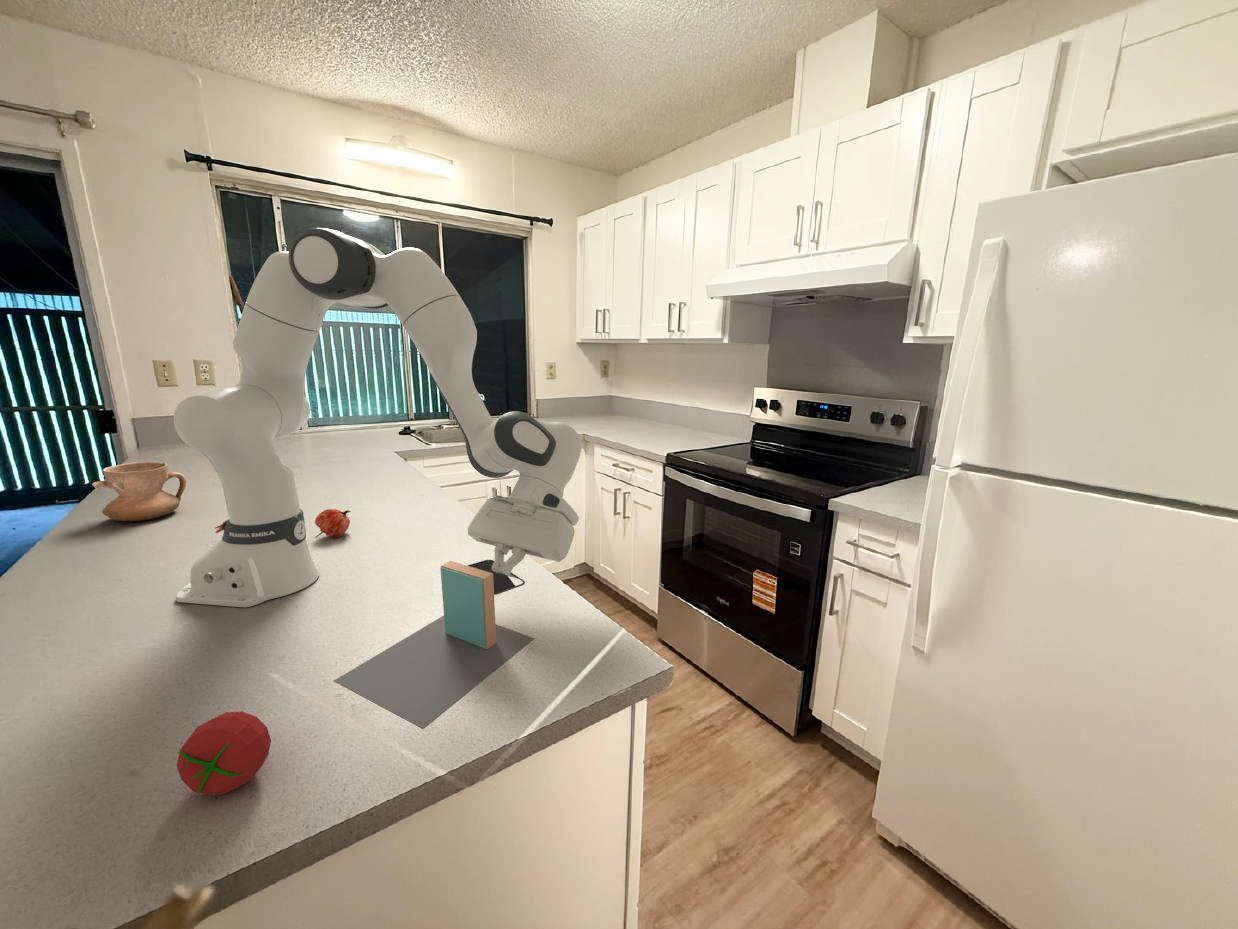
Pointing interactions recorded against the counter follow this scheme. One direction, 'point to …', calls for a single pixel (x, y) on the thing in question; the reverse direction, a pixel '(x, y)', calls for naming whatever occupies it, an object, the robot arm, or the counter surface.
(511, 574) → the phone
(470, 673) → the mat
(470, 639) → the tile
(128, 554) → the counter surface
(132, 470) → the ceramic jug
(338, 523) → the pomegranate
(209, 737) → the tomato
